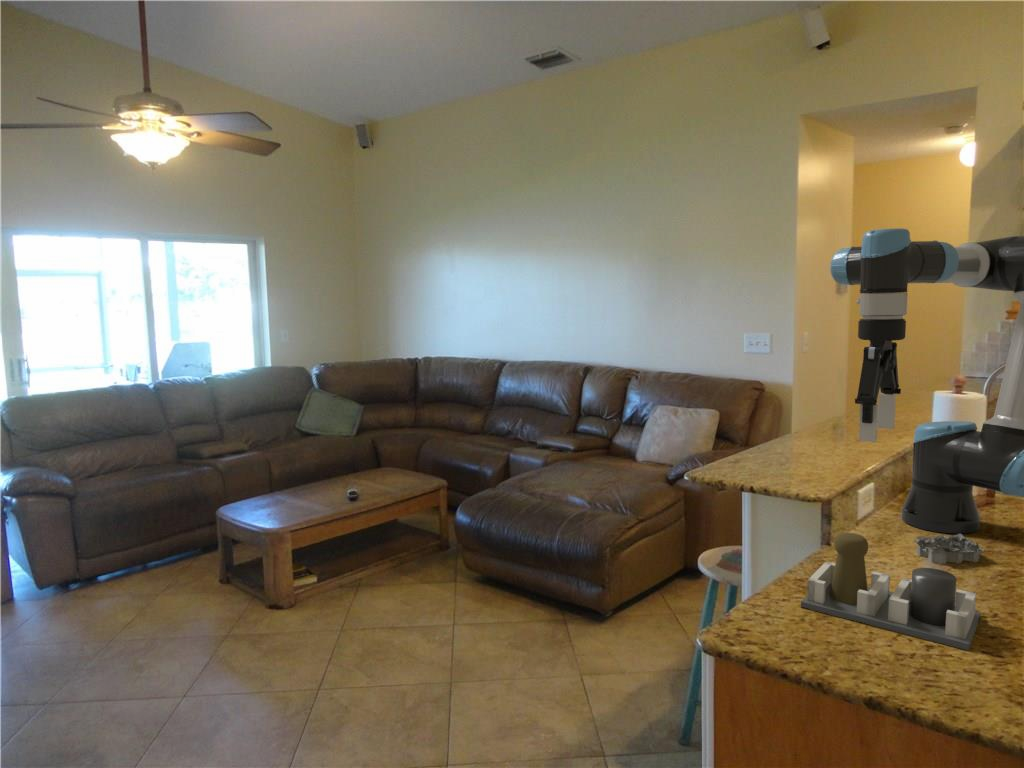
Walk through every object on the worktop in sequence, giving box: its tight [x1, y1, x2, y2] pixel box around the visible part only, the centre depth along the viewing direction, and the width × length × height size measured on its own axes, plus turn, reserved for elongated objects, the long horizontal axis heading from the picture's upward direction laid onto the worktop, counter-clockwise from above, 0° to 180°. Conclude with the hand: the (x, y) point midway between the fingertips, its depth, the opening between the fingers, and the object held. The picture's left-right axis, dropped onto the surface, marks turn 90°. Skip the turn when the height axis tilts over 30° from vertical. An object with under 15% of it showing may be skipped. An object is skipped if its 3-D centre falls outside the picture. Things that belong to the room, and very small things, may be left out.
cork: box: [830, 532, 869, 605], centre depth 119 cm, size 6×6×11 cm
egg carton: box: [913, 533, 985, 565], centre depth 138 cm, size 11×8×4 cm
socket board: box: [800, 560, 981, 652], centre depth 115 cm, size 13×24×8 cm, turn 50°
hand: (877, 434), depth 127 cm, fingers open, 13 cm apart
